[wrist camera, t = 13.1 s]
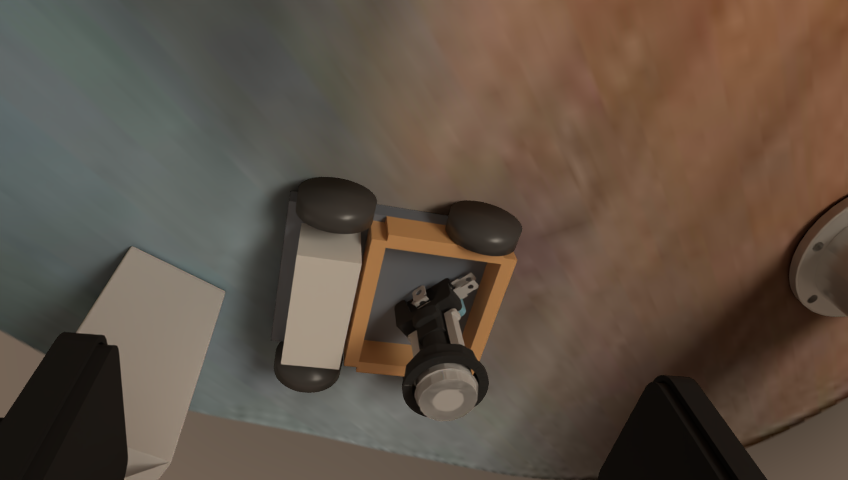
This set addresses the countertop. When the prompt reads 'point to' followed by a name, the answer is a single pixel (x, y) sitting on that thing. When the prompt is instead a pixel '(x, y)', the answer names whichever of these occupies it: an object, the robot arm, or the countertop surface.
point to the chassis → (377, 278)
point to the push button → (440, 352)
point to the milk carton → (155, 351)
